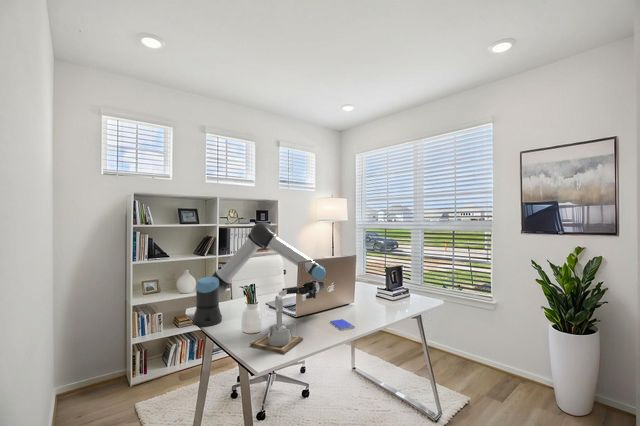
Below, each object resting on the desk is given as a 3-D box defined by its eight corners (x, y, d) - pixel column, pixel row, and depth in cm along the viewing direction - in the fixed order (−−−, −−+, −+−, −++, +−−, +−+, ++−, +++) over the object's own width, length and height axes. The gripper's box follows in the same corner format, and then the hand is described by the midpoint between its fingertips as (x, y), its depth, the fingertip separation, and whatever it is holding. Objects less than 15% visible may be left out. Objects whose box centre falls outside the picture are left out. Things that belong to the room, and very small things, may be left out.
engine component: (270, 347, 133) (293, 344, 136) (270, 299, 133) (293, 297, 137) (265, 338, 143) (286, 335, 147) (266, 294, 143) (286, 292, 147)
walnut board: (250, 346, 137) (250, 342, 137) (270, 333, 151) (270, 331, 151) (284, 354, 129) (284, 350, 129) (302, 340, 144) (302, 337, 144)
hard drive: (354, 326, 160) (343, 318, 171) (341, 328, 157) (330, 320, 168) (354, 329, 160) (343, 321, 171) (341, 331, 157) (330, 323, 168)
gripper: (330, 297, 169) (312, 307, 150) (291, 292, 180) (270, 300, 161) (330, 284, 169) (312, 292, 150) (291, 279, 180) (270, 286, 161)
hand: (290, 296), depth 155 cm, fingers open, 13 cm apart
